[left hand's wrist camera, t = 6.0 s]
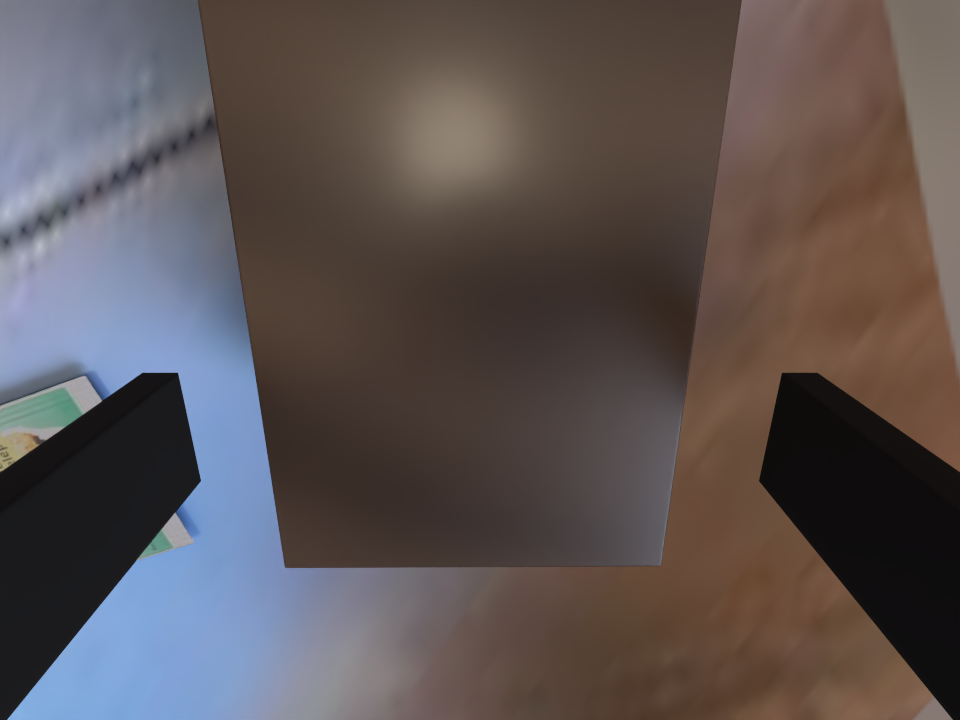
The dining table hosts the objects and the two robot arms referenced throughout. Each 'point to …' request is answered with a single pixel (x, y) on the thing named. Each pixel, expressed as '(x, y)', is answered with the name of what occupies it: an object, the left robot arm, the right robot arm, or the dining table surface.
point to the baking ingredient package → (43, 414)
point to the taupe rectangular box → (471, 266)
